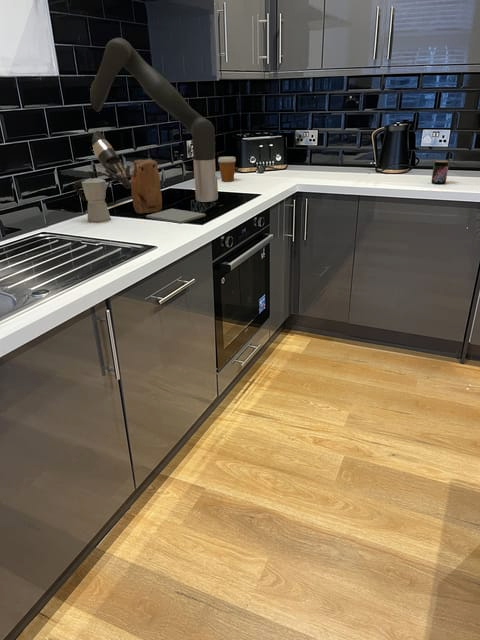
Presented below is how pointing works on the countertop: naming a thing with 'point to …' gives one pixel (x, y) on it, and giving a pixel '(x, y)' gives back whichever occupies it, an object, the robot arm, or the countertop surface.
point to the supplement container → (440, 172)
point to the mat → (176, 215)
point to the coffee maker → (94, 198)
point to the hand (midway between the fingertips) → (129, 187)
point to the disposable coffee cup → (227, 168)
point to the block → (146, 187)
